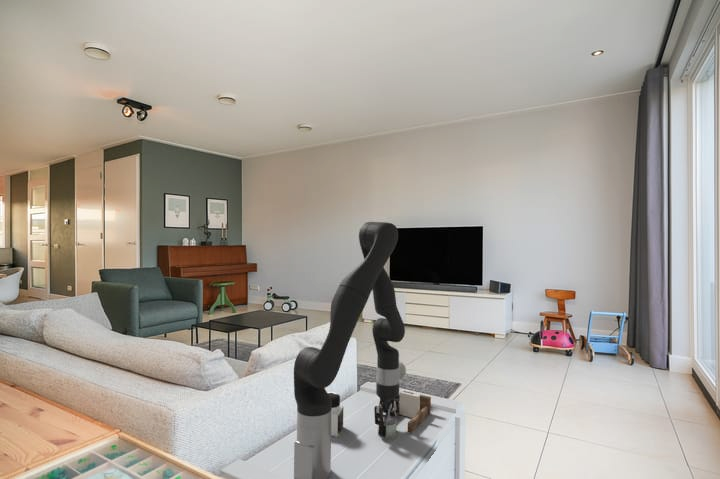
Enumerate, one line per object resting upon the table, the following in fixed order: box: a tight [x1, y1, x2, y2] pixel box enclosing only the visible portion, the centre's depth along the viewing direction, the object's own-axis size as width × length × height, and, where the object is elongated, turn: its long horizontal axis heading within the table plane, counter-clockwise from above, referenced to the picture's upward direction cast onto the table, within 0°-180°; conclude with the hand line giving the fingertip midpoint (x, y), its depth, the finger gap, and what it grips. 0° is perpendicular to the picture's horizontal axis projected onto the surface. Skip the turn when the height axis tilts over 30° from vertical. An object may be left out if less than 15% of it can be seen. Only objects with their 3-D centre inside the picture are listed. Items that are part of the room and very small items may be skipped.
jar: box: [377, 415, 398, 440], centre depth 127 cm, size 6×6×5 cm
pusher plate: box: [398, 391, 420, 419], centre depth 142 cm, size 7×7×8 cm
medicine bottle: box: [327, 391, 344, 438], centre depth 129 cm, size 7×7×12 cm
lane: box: [384, 390, 432, 434], centre depth 138 cm, size 18×11×6 cm, turn 149°
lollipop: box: [399, 360, 407, 380], centre depth 156 cm, size 7×7×15 cm
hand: (387, 431), depth 127 cm, fingers closed on jar, 6 cm apart
